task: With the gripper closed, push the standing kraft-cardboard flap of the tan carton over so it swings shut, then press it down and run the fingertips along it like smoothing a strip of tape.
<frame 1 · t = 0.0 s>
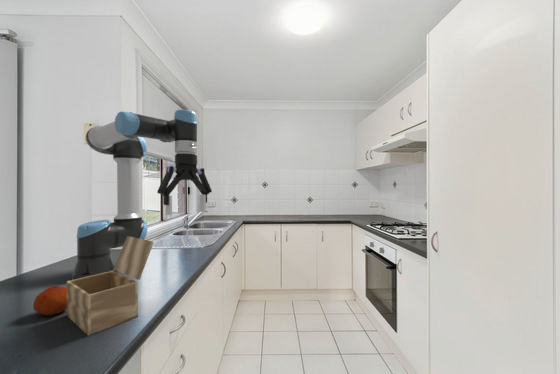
hand: (186, 213, 94), 28 cm above the countertop, fingers open, 13 cm apart
flap: (132, 256, 83), point 16 cm above the countertop, hinge at 113.0°
fruit: (54, 313, 79), on the countertop
carton: (102, 316, 76), on the countertop
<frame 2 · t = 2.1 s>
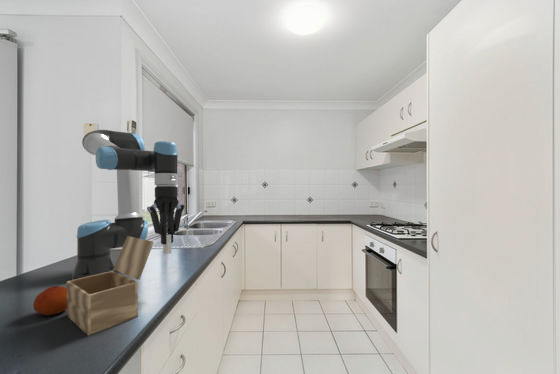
hand: (167, 253, 92), 14 cm above the countertop, fingers closed
nothing on the countertop moved.
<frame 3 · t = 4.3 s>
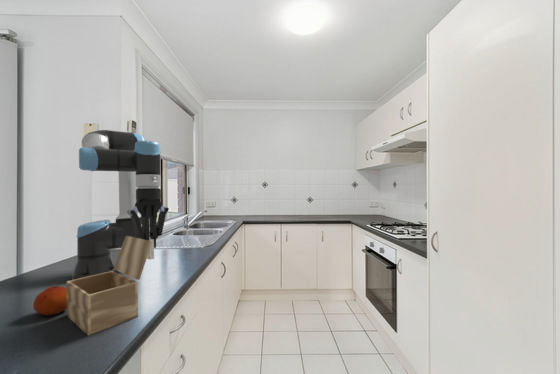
hand: (150, 258, 87), 14 cm above the countertop, fingers closed
flap: (132, 255, 83), point 16 cm above the countertop, hinge at 110.5°, touching gripper
everything else where it was.
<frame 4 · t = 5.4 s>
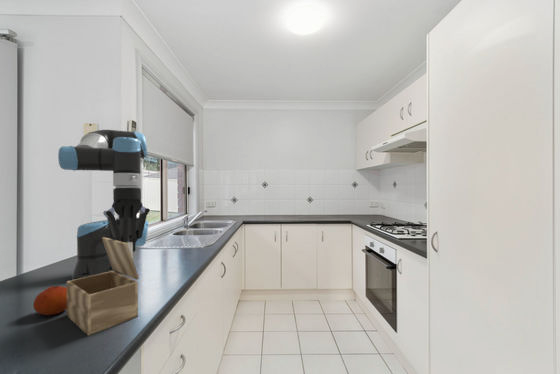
hand: (128, 262, 81), 14 cm above the countertop, fingers closed
flap: (119, 257, 80), point 16 cm above the countertop, hinge at 74.2°, touching gripper, hand
everything else where it was.
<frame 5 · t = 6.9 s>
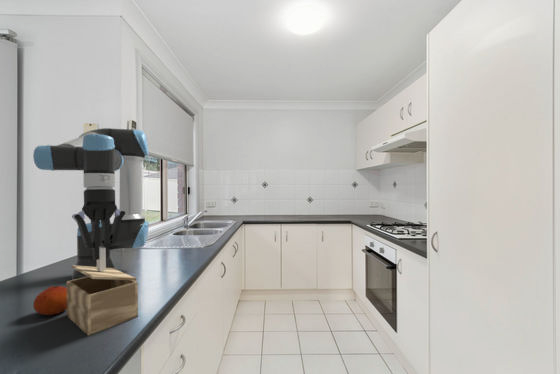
hand: (101, 269, 76), 13 cm above the countertop, fingers closed
flap: (103, 272, 76), point 12 cm above the countertop, hinge at 17.9°, touching gripper
everything else where it was.
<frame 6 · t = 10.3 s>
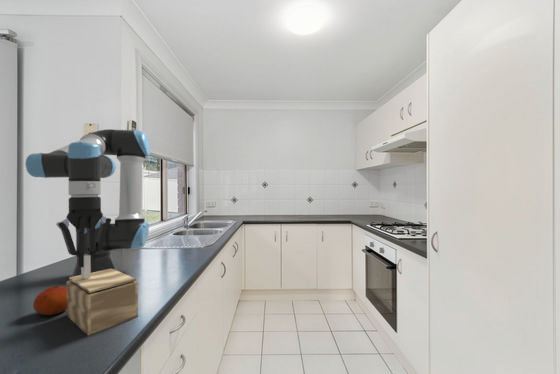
hand: (85, 277, 76), 11 cm above the countertop, fingers closed
flap: (102, 279, 76), point 11 cm above the countertop, hinge at 0.5°
everything else where it was.
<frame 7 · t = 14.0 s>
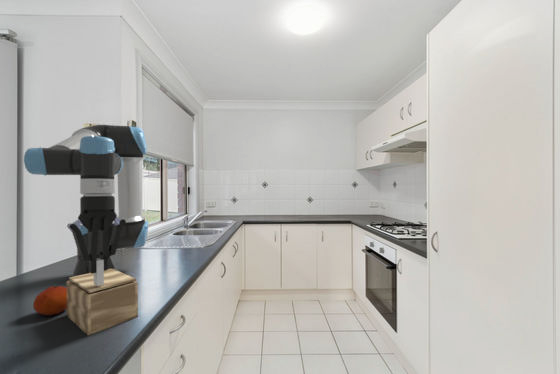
hand: (98, 284, 69), 12 cm above the countertop, fingers closed
nothing on the countertop moved.
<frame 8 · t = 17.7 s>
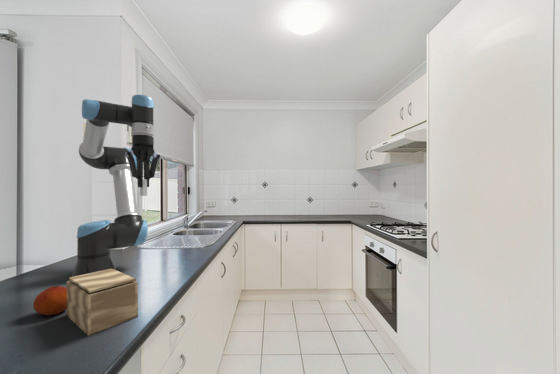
hand: (143, 195, 102), 34 cm above the countertop, fingers closed
nothing on the countertop moved.
at the end: flap at +0° (first picture: +113°); flap touching nothing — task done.
